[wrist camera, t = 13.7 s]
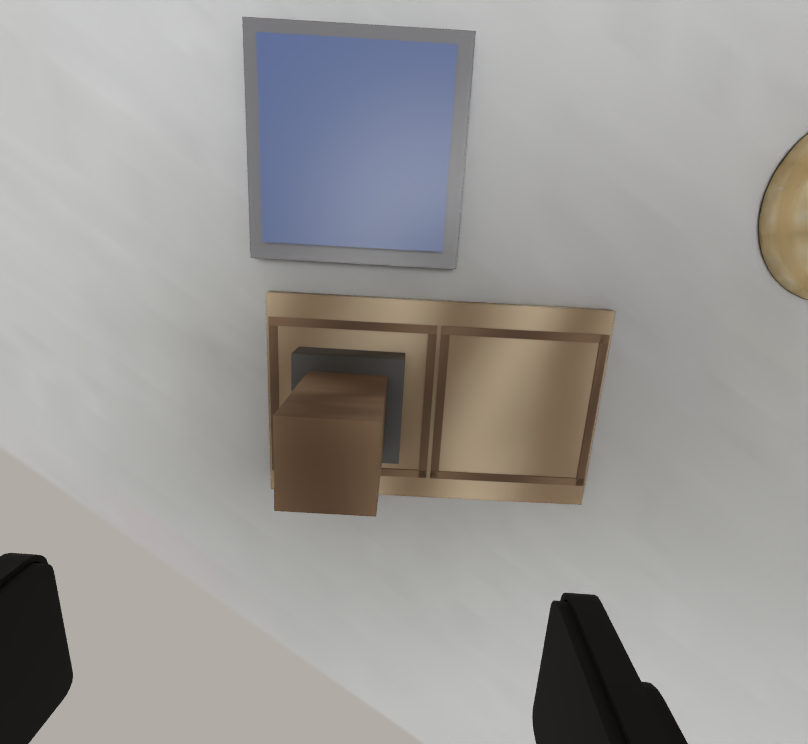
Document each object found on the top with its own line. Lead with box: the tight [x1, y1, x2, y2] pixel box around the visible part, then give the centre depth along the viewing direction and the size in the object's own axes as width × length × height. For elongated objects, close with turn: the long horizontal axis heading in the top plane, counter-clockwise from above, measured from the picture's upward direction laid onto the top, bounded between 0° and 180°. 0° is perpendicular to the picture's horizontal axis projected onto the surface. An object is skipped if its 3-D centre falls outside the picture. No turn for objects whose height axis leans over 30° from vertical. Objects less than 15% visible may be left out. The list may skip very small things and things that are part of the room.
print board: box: [266, 291, 616, 505], centre depth 22 cm, size 16×10×1 cm, turn 87°
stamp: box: [273, 346, 405, 516], centre depth 19 cm, size 5×5×7 cm
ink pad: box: [242, 17, 476, 269], centre depth 19 cm, size 9×9×2 cm
